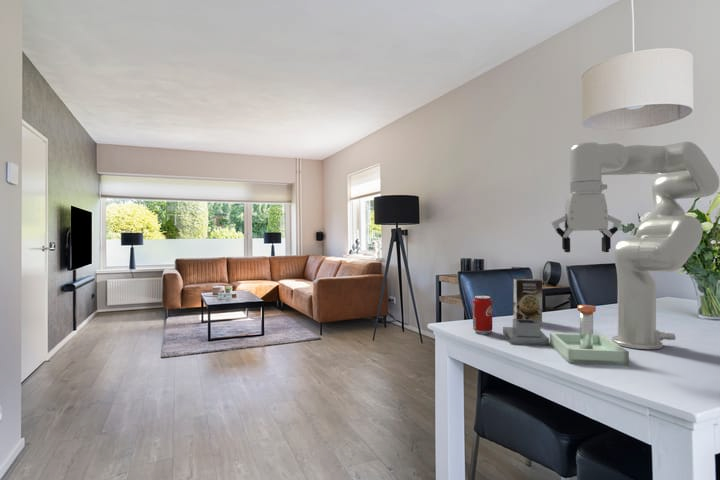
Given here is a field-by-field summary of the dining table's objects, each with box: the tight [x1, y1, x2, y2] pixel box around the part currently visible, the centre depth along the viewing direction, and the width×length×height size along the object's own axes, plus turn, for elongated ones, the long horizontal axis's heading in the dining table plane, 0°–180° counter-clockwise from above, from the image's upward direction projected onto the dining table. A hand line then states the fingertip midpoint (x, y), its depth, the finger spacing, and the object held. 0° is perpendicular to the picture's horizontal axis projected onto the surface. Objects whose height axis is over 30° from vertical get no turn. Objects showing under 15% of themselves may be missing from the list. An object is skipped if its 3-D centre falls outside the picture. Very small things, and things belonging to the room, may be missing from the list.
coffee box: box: [512, 278, 543, 325], centre depth 157 cm, size 9×6×16 cm
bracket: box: [502, 318, 550, 346], centre depth 133 cm, size 11×14×6 cm
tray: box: [549, 332, 630, 366], centre depth 115 cm, size 14×18×4 cm
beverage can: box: [472, 295, 493, 335], centre depth 142 cm, size 6×6×12 cm
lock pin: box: [576, 304, 597, 349], centre depth 115 cm, size 4×4×12 cm
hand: (586, 252), depth 115 cm, fingers open, 9 cm apart
